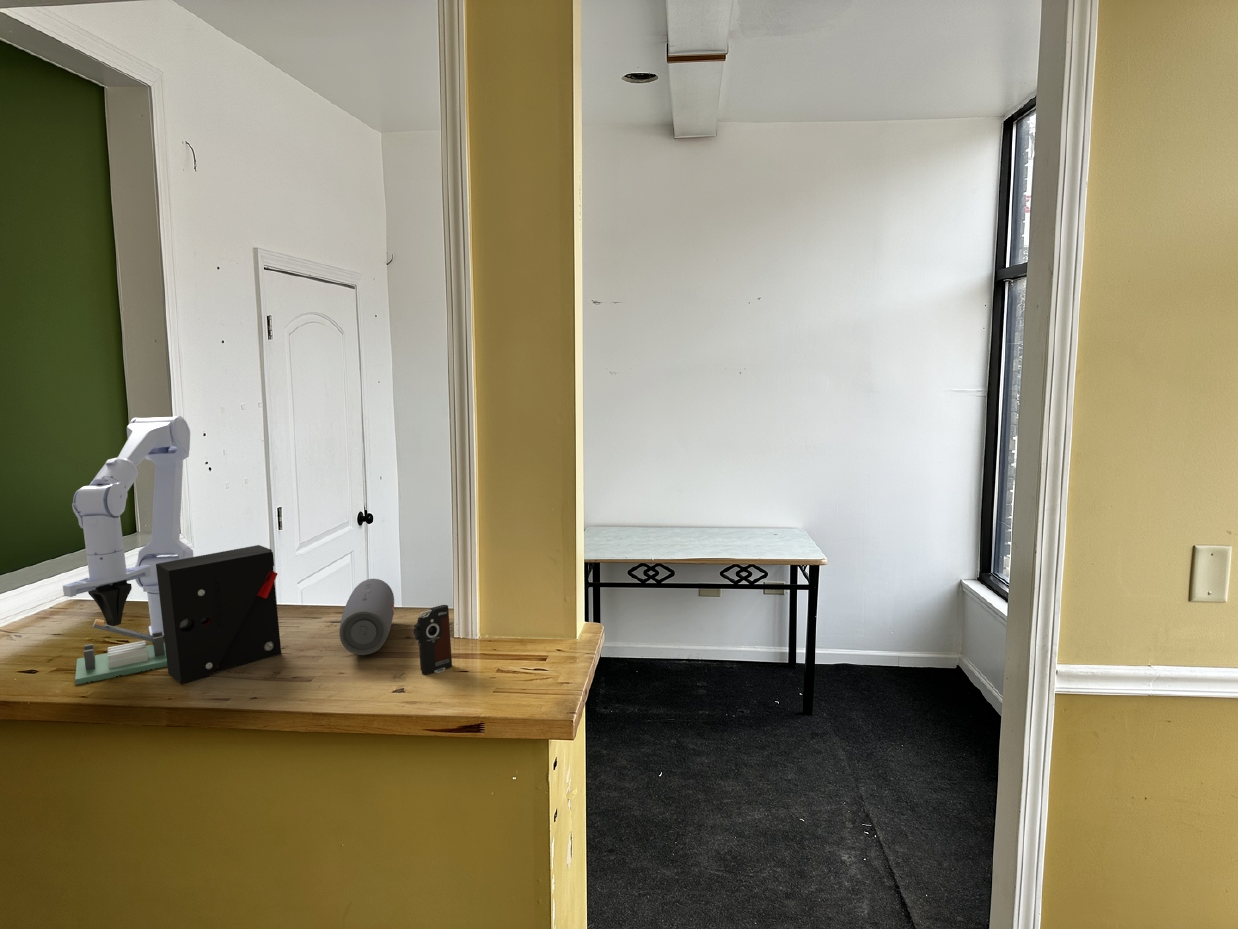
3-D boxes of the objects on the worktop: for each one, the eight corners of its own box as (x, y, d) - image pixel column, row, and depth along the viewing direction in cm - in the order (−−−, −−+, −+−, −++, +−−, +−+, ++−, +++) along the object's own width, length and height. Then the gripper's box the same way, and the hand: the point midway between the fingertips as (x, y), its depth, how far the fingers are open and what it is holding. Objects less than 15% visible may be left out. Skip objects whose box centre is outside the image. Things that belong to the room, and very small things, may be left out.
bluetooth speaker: (392, 659, 147) (388, 605, 145) (338, 665, 145) (334, 611, 143) (398, 620, 169) (395, 573, 167) (351, 625, 167) (348, 577, 165)
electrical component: (264, 643, 157) (254, 543, 154) (285, 656, 150) (275, 551, 147) (164, 670, 145) (152, 561, 142) (182, 685, 138) (169, 571, 135)
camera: (421, 677, 137) (417, 615, 136) (415, 672, 140) (410, 611, 138) (455, 668, 141) (451, 607, 140) (449, 663, 143) (445, 603, 142)
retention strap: (160, 641, 152) (163, 635, 152) (160, 644, 150) (163, 638, 150) (92, 625, 146) (96, 618, 146) (92, 628, 144) (96, 621, 144)
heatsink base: (175, 645, 158) (173, 623, 157) (180, 663, 148) (178, 640, 147) (77, 664, 149) (74, 641, 149) (75, 685, 139) (72, 660, 139)
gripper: (131, 541, 153) (139, 610, 155) (49, 559, 140) (59, 634, 142) (154, 543, 150) (162, 614, 152) (72, 562, 137) (82, 639, 139)
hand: (114, 624), depth 147 cm, fingers closed
